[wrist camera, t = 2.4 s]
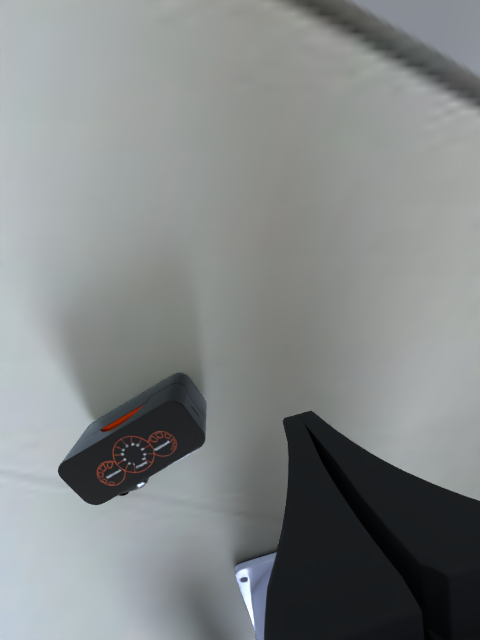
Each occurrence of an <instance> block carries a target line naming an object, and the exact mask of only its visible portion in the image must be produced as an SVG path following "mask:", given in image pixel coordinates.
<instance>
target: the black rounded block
mask: <svg viewBox="0 0 480 640" xmlns="http://www.w3.org/2000/svg"><path fill="white" fill-rule="evenodd" d="M206 409H207V405H206V401H205V398H204V397H203V396H202V394H201V393H200V391H199V390H198V389H197V387H196V386H195V384H194V383H193V382H192V380H191V379H190V377H189V376H188V375H186V374H184V373H176V374H174V375H172V376H170V377H168V378H167V379H165V380H163V381H162V382H160V383H158V384H157V385H155V386H153V387H152V388H150V389H148V390H146V391H145V392H143V393H141V394H140V395H138V396H136V397H135V398H133V399H131V400H129V401H128V402H126V403H124V404H123V405H121V406H119V407H118V408H116V409H114V410H112V411H111V412H109V413H107V414H106V415H104V416H102V417H101V418H99V419H97V420H95V421H94V422H93V423H91V424H90V425H89V426H88V427H87V429H86V430H85V432H84V433H83V434H82V436H81V437H80V438H79V440H78V441H77V442H76V444H75V445H74V447H73V448H72V449H71V451H70V452H69V453H68V455H67V456H66V457H65V459H64V460H63V461H62V463H61V464H60V466H59V468H58V473H59V476H60V477H61V478H62V479H63V480H64V481H65V482H66V483H67V484H68V485H69V486H70V487H71V488H72V489H73V490H74V491H75V492H76V493H77V494H78V495H79V496H80V497H81V498H82V499H83V500H84V501H85V502H87V503H89V504H92V505H99V504H103V503H105V502H107V501H108V500H110V499H112V498H114V497H115V496H117V495H120V496H123V495H126V494H128V493H129V492H130V491H133V490H136V489H140V488H142V487H143V486H144V485H145V484H146V483H147V481H148V479H149V477H150V476H152V475H153V474H155V473H157V472H159V471H160V470H162V469H164V468H166V467H167V466H169V465H171V464H173V463H174V462H176V461H178V460H180V459H181V458H183V457H185V456H187V455H188V454H190V453H192V452H193V451H195V450H197V449H199V448H200V447H201V446H202V445H203V444H204V442H205V435H206Z"/></svg>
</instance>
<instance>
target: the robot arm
mask: <svg viewBox="0 0 480 640" xmlns="http://www.w3.org/2000/svg"><path fill="white" fill-rule="evenodd" d="M283 425H284V429H285V433H286V437H287V442H288V456H289V463H288V488H287V498H286V505H285V513H284V519H283V525H282V530H281V534H280V539H279V544H278V549H277V552H275V553H272V554H269V555H266V556H262V557H259V558H256V559H253V560H250V561H246V562H243V563H240V564H238V565H237V566H236V567H235V577H236V580H237V582H238V585H239V588H240V590H241V593H242V596H243V599H244V601H245V604H246V607H247V610H248V612H249V615H250V618H251V620H252V623H253V626H254V629H255V637H256V640H480V501H478V500H475V499H472V498H469V497H466V496H463V495H461V494H458V493H455V492H453V491H450V490H447V489H445V488H442V487H439V486H437V485H435V484H432V483H430V482H427V481H425V480H423V479H421V478H418V477H416V476H414V475H412V474H409V473H407V472H405V471H403V470H401V469H399V468H397V467H395V466H393V465H391V464H389V463H387V462H385V461H384V460H382V459H380V458H378V457H376V456H375V455H373V454H371V453H370V452H368V451H366V450H365V449H363V448H362V447H360V446H358V445H357V444H355V443H354V442H352V441H351V440H349V439H348V438H347V437H345V436H344V435H342V434H341V433H340V432H338V431H337V430H335V429H334V428H333V427H331V426H330V425H329V424H328V423H326V422H325V421H324V420H322V419H321V418H320V417H319V416H318V415H316V414H315V413H314V412H312V411H308V412H304V413H301V414H297V415H294V416H290V417H287V418H284V420H283Z"/></svg>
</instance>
